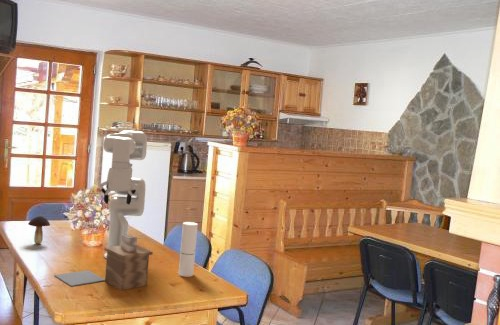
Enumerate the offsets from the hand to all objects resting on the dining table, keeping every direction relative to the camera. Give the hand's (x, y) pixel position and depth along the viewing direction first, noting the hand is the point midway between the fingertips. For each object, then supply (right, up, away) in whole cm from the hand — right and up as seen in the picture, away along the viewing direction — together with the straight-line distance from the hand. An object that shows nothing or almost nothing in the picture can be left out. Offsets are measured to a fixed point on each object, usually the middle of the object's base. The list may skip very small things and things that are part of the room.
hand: (117, 203), depth 229 cm
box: (+4, -35, -3) cm, 35 cm away
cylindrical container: (+28, -36, +19) cm, 49 cm away
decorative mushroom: (-55, -26, +47) cm, 77 cm away
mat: (-16, -33, -2) cm, 37 cm away
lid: (+6, -21, -4) cm, 22 cm away
